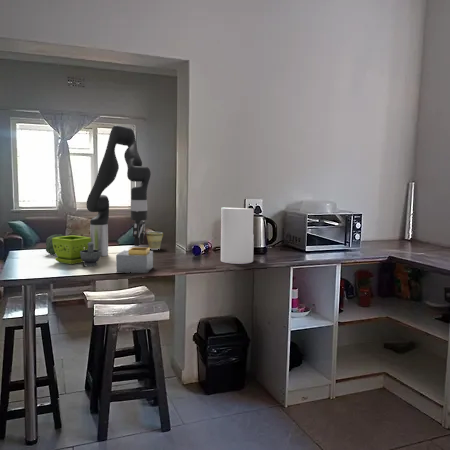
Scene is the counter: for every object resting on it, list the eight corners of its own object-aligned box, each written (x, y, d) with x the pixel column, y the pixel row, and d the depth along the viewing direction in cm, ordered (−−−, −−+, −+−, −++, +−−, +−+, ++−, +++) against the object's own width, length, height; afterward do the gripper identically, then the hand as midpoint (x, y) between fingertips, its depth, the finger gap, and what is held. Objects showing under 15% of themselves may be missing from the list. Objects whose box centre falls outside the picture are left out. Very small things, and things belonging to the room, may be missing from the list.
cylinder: (247, 264, 226) (248, 209, 223) (215, 262, 232) (216, 208, 229) (257, 259, 242) (258, 207, 239) (227, 256, 248) (227, 206, 245)
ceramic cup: (155, 250, 264) (155, 234, 263) (142, 249, 269) (142, 232, 268) (169, 248, 275) (169, 232, 274) (157, 246, 280) (157, 230, 279)
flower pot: (71, 265, 216) (70, 240, 215) (51, 262, 223) (50, 237, 222) (92, 261, 228) (92, 236, 227) (73, 258, 235) (72, 234, 234)
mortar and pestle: (80, 263, 222) (79, 239, 221) (99, 262, 225) (99, 239, 224) (80, 268, 211) (80, 243, 210) (101, 267, 214) (101, 242, 213)
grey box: (116, 272, 203) (116, 250, 202) (124, 266, 216) (124, 246, 215) (146, 273, 202) (146, 251, 201) (152, 267, 215) (152, 247, 214)
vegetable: (76, 251, 244) (50, 241, 236) (64, 265, 249) (38, 256, 241) (77, 236, 253) (52, 226, 245) (66, 250, 258) (41, 240, 250)
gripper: (134, 208, 213) (135, 242, 215) (126, 210, 199) (127, 246, 201) (150, 208, 213) (150, 242, 215) (143, 210, 199) (143, 246, 201)
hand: (139, 244), depth 208 cm, fingers open, 8 cm apart
